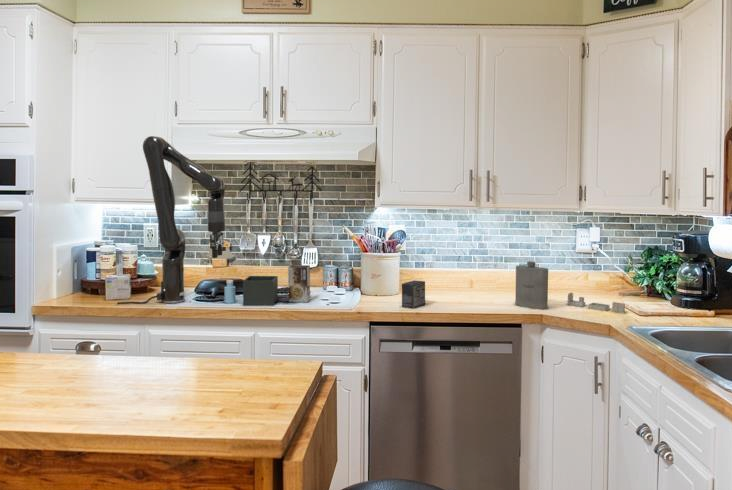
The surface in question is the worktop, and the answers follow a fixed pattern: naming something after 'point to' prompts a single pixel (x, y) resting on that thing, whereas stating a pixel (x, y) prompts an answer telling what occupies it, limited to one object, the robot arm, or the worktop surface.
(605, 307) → the bathroom set
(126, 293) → the light bulb box
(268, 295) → the waste bin
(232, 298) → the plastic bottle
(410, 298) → the small box
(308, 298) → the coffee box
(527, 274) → the flask
